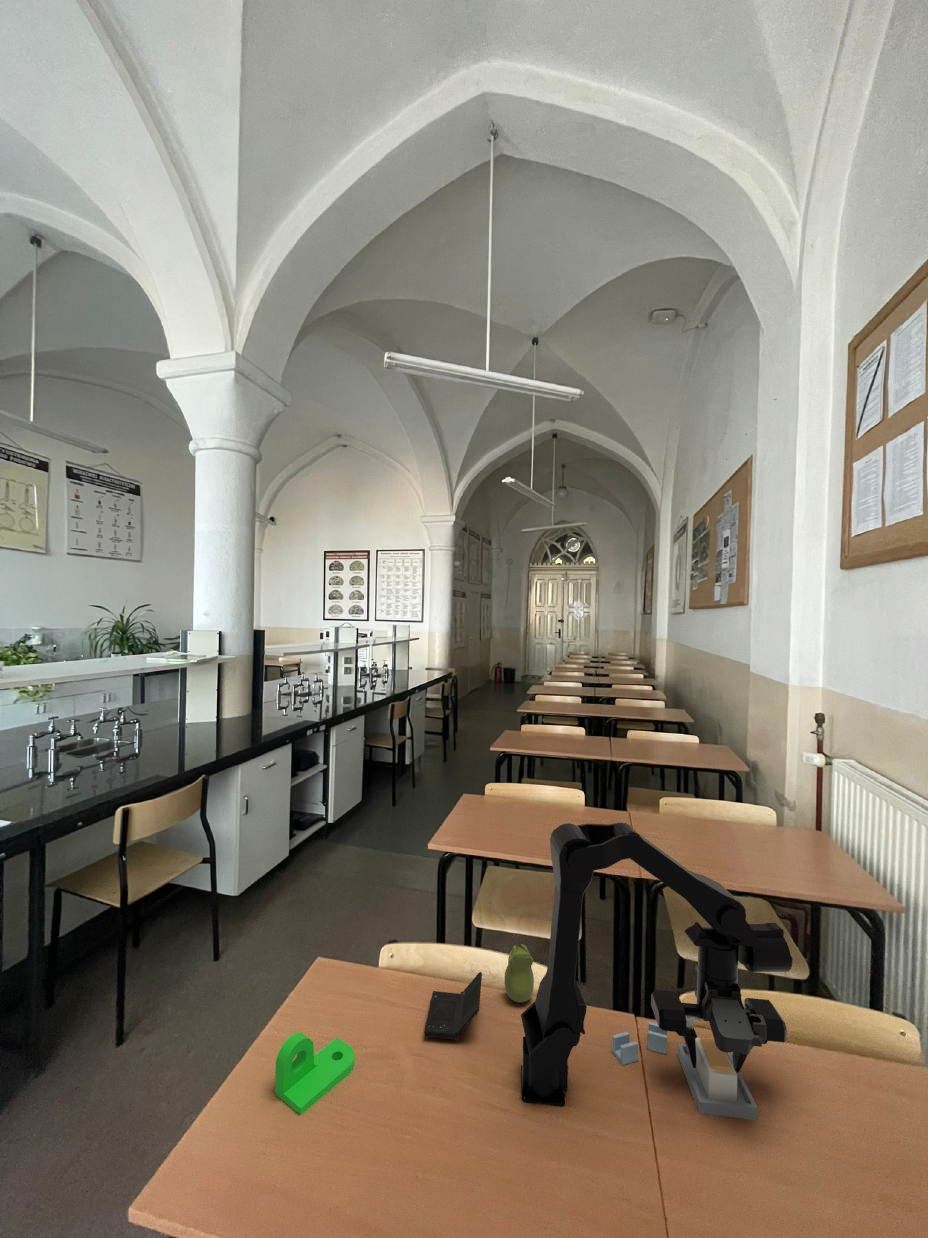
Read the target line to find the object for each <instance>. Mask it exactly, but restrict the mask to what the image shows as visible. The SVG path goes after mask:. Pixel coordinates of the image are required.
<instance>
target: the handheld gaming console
mask: <svg viewBox="0 0 928 1238" xmlns="http://www.w3.org/2000/svg"><path fill="white" fill-rule="evenodd" d="M482 977H483V972H482V971H479V972H478V973H477V974H476V976H475V977H474V978H473V980H471V982H470V983H469V984H468V985H467V987H466V988H464V990H463V991H461V992H460V993H458V992H447V991H440V990H439V991H437V990H433V991H432V994H431V998H430V999H431V1000H430V1003H429V1008H428V1013H427V1017H426V1021H425V1024H424V1025H425V1026H424V1032H423V1034H424V1035H423V1036H424V1037H428V1038H429V1037H430V1038H438V1039H447V1040H455V1041H459V1038H460V1033H462V1031H463V1030H465V1028H466V1027H467V1025H468V1024H469V1023H470V1022H471V1021H472V1019H474V1017H475V1016H476V1015H477V1013H478V1012H479V1011H480V1003H481V1002H480V1001H481V993H482V992H481V991H482Z"/></svg>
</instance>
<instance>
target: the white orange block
mask: <svg viewBox="0 0 928 1238" xmlns="http://www.w3.org/2000/svg"><path fill="white" fill-rule="evenodd" d="M695 1043H696V1059H697V1061H696V1068H697V1071H698V1073H699V1075H700V1078H701V1080H702V1083H703V1085H704V1088H705V1090H706V1093H707V1095H708V1098H709V1099H712V1100H722V1101H732V1102H737V1074H736V1072H735V1070H734V1068H733V1065H732V1063H731V1061H730V1059H729V1057H728V1055H727V1053H726V1052H722V1051H720V1050H719V1049H718V1048H717V1046H716V1044H715V1040H714V1037H713V1038H712V1037H703V1036H702V1037H701V1036H700V1037H697V1038H696V1039H695Z"/></svg>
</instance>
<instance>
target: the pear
mask: <svg viewBox="0 0 928 1238" xmlns="http://www.w3.org/2000/svg"><path fill="white" fill-rule="evenodd" d="M533 964H534V959H533V957H532V955H531V954H530V952H529V950H528V947H527V946H526V944H523V943H522V944H521V943H518V944H517V945H513V946H512V949H511V950H510V952H509V955H508V959H507V966H506V969H505V971H504V989H505V992H506V994H507V996H508V997H509V999H510V1000H512V1001H513V1002H515V1003H517V1004H518V1003H520V1004H521V1003H525V1002H527V1001H529V1000H530V999H531V997H532V995H533V994H534V993H533V992H534V985H535V977H534V971H533V968H532V966H533Z"/></svg>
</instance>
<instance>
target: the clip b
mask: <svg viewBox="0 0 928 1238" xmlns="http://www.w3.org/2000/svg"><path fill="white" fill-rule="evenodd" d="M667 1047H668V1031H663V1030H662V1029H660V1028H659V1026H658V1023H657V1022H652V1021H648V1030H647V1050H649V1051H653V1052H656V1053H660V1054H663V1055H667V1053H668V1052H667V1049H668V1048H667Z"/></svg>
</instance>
